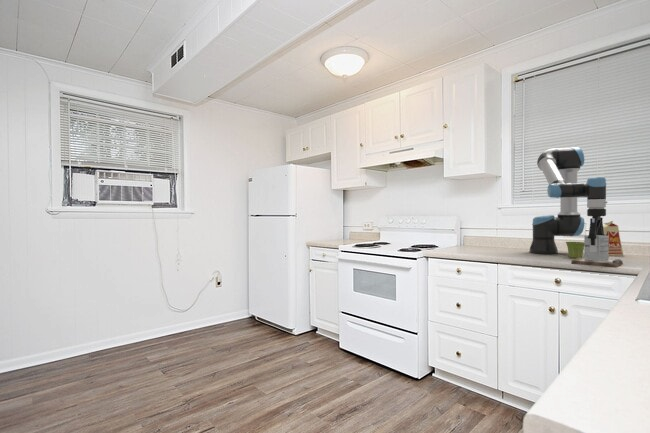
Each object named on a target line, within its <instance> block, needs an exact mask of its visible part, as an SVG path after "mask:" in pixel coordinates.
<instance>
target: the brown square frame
mask: <svg viewBox="0 0 650 433" xmlns="http://www.w3.org/2000/svg"><path fill="white" fill-rule="evenodd" d="M570 263H571V264H572V265H581V266H582V265H584V266H585V265H586V266H593V267H594V266H595V267H596V266H597V267H608V268H618V267H620V266H621V265H623V264H624V263H623V260H622V259H620V258H615V259H608V261H602V262H597V261H591V260H584V257H582V258H574V259H572V260H571V262H570Z"/></svg>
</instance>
